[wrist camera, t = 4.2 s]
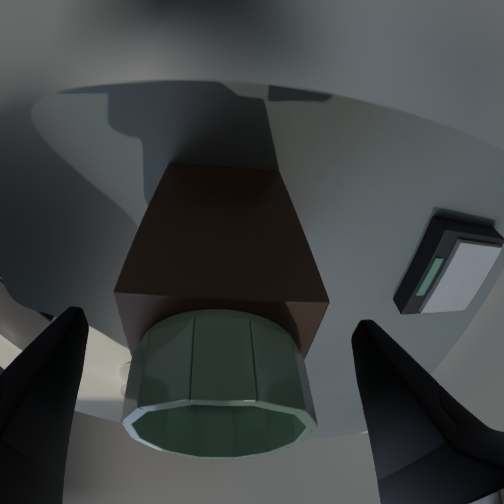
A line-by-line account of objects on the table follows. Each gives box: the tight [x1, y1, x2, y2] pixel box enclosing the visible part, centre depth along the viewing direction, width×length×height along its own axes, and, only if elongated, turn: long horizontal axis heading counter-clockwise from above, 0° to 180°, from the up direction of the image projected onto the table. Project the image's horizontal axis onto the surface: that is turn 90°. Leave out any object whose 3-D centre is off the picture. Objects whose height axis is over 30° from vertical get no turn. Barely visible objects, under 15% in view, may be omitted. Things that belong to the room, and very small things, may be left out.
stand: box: [114, 164, 329, 359], centre depth 17 cm, size 8×8×12 cm
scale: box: [393, 216, 504, 314], centre depth 25 cm, size 10×10×3 cm
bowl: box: [121, 309, 317, 459], centre depth 11 cm, size 7×7×4 cm
